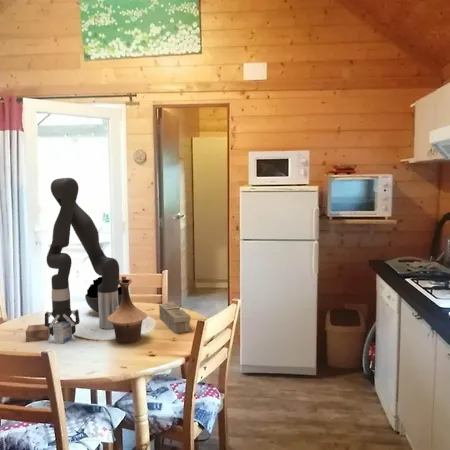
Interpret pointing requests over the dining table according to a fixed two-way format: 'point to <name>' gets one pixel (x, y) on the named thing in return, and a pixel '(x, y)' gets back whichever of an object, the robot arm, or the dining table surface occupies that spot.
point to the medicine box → (62, 331)
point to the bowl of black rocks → (93, 295)
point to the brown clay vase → (127, 317)
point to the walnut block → (37, 333)
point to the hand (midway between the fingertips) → (62, 334)
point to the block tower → (174, 317)
